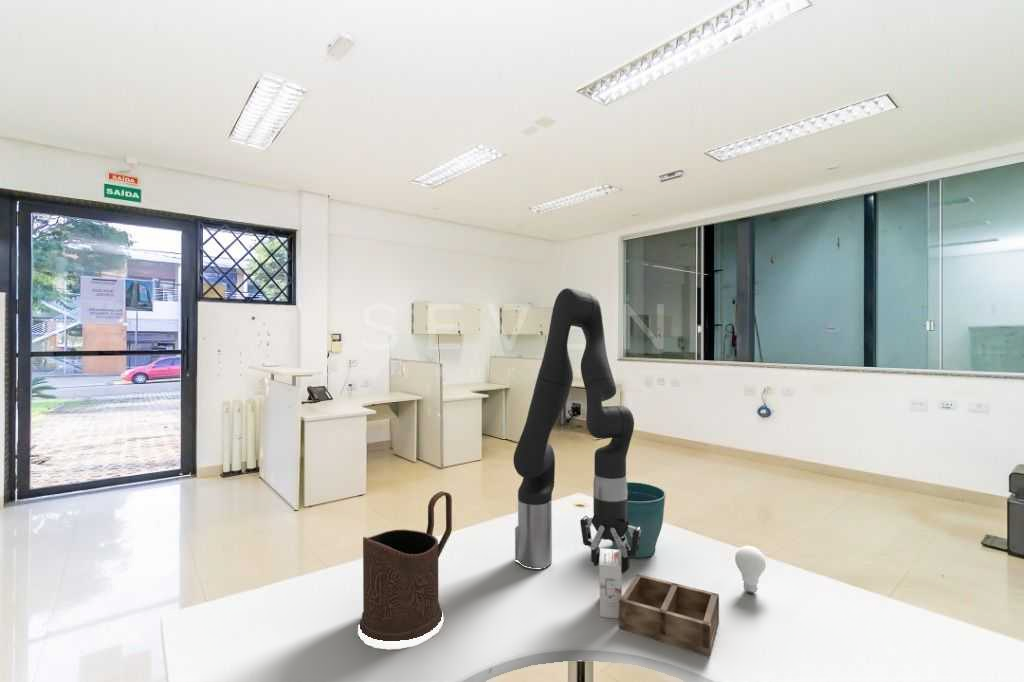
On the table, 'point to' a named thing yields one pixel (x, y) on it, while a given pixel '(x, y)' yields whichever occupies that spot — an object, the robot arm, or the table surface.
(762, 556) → the light bulb
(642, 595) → the walnut rack
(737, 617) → the table surface
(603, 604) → the ink cartridge box
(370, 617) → the cup holder
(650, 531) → the flower pot
